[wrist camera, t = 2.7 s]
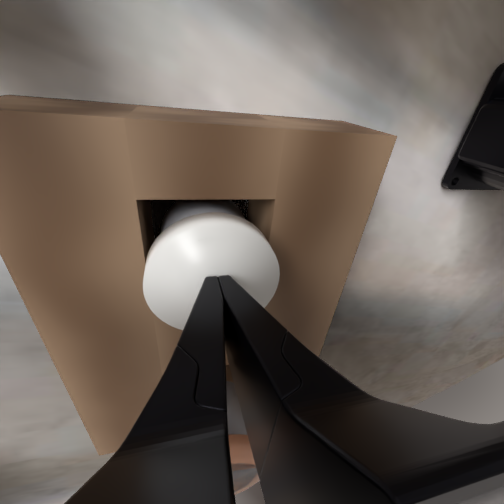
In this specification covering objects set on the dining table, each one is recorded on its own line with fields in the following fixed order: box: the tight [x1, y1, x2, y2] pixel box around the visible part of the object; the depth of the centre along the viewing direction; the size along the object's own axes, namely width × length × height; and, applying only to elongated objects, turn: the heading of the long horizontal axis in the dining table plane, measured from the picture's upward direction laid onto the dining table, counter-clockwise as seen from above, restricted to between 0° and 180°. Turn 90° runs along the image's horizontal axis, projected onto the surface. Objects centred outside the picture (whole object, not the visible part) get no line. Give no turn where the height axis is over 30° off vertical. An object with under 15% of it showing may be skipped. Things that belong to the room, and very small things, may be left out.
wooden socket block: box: [0, 95, 397, 455], centre depth 15 cm, size 14×20×4 cm
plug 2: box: [226, 381, 260, 495], centre depth 14 cm, size 5×5×4 cm
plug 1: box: [143, 199, 280, 330], centre depth 11 cm, size 5×5×4 cm
